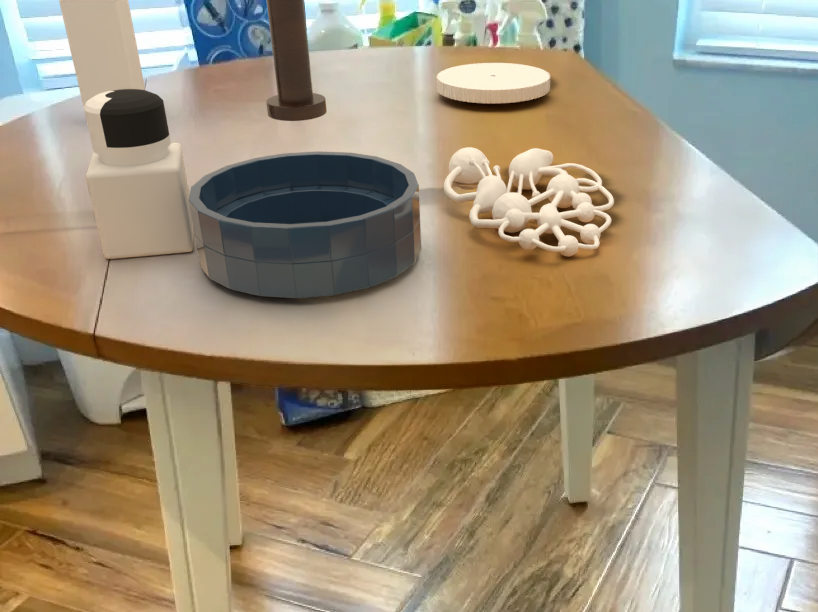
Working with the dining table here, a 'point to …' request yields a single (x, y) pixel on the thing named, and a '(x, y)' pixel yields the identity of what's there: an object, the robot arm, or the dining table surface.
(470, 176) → the tangled rod sculpture
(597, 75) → the dining table surface
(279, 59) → the stick
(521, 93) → the plastic lid
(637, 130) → the dining table surface
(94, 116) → the medicine bottle
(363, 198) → the bowl
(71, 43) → the milk
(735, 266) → the dining table surface
